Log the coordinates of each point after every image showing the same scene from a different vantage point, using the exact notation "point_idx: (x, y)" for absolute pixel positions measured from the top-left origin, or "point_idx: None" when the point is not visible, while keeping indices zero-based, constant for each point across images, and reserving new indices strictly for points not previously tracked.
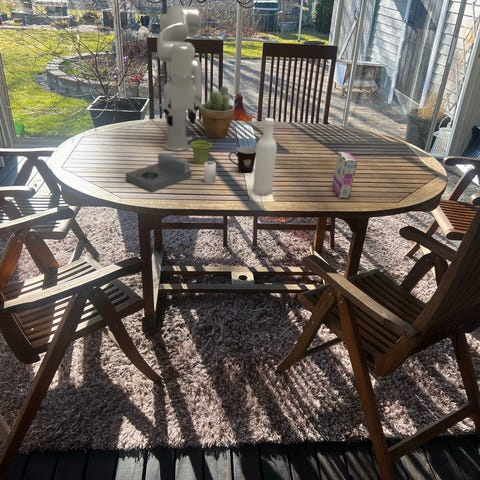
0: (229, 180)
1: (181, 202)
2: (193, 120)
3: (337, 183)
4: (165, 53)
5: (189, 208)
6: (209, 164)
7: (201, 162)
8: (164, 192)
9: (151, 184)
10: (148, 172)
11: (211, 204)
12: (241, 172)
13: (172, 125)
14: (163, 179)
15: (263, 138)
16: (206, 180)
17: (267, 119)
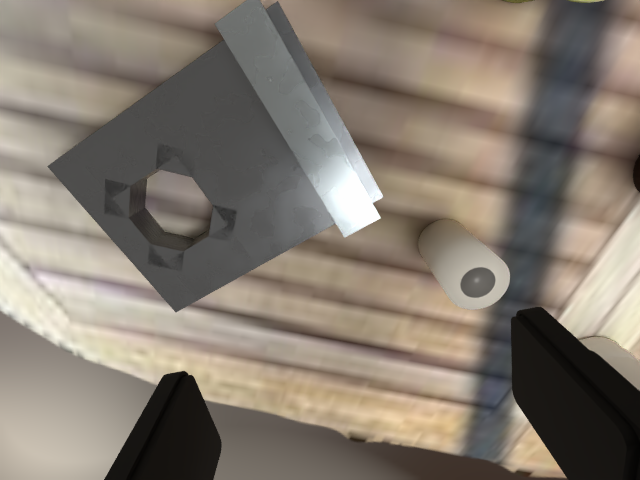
0: (529, 251)
1: (277, 381)
2: (547, 440)
3: None
4: None
5: (292, 418)
6: (466, 295)
7: (512, 1)
8: (232, 304)
9: (173, 304)
10: (165, 169)
11: (367, 409)
12: (637, 185)
13: (217, 449)
14: (229, 267)
15: None
16: (424, 260)
17: None
